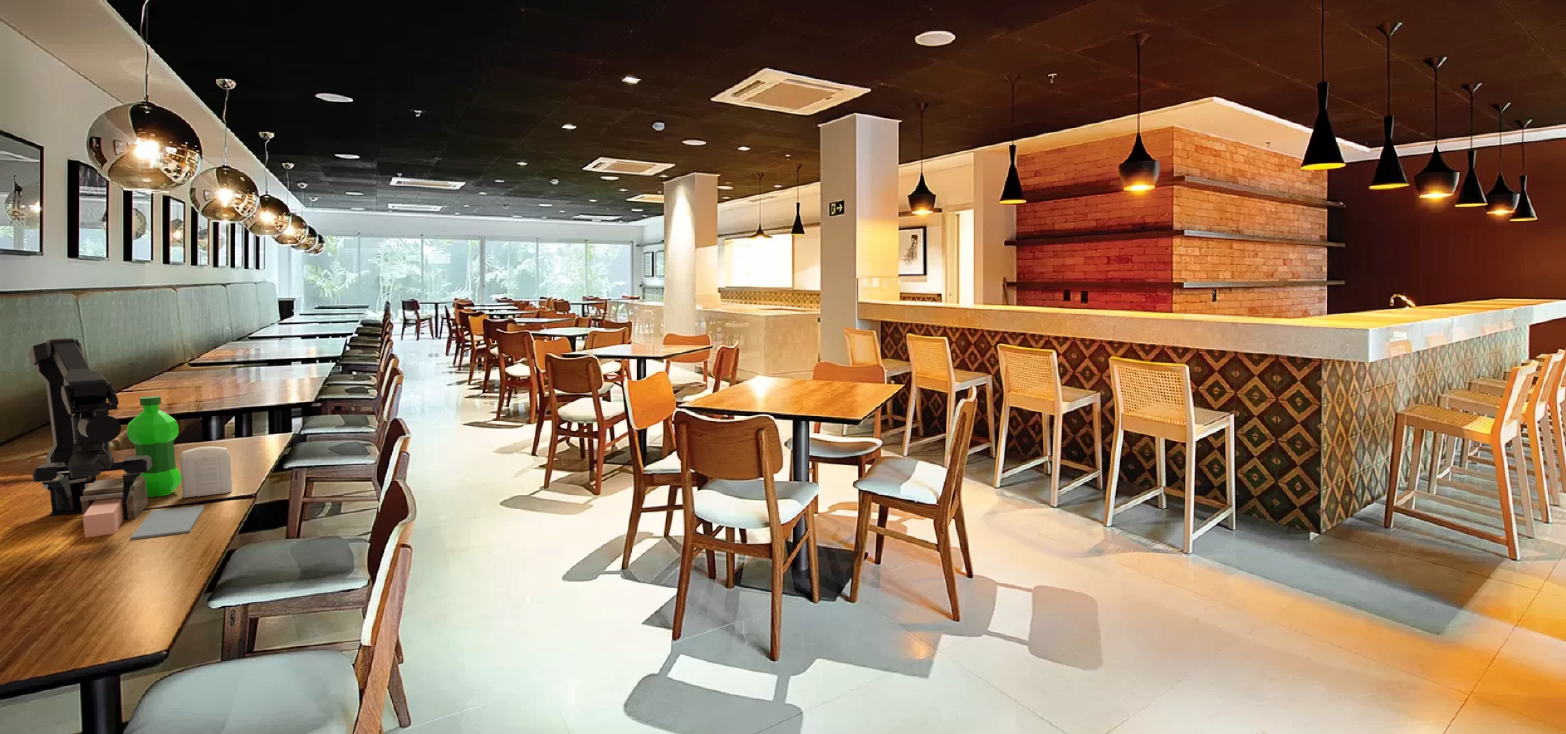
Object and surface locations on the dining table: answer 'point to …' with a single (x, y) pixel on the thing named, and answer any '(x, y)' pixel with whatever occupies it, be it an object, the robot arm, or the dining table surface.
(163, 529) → the slate mat
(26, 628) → the dining table surface
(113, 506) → the block
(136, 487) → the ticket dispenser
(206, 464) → the white arched slab
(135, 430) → the plastic bottle
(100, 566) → the dining table surface
